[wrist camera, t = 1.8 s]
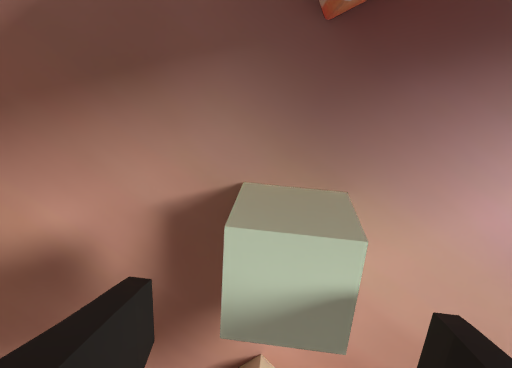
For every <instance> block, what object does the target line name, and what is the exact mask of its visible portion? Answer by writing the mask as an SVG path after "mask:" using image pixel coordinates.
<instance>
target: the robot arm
mask: <svg viewBox="0 0 512 368" xmlns="http://www.w3.org/2000/svg"><path fill="white" fill-rule="evenodd" d="M153 343H154V321H153V298H152V279H145V278H136V277H128V278H126V279H125V280H123V281H122V282H120V283H119V284H117V285H116V286H114V287H112V288H111V289H110V290H108V291H107V292H105V293H104V294H102V295H101V296H99V297H98V298H96V299H95V300H93V301H92V302H90V303H89V304H87V305H86V306H84V307H83V308H81V309H80V310H78V311H77V312H75V313H74V314H72V315H70V316H69V317H67V318H66V319H64V320H63V321H61V322H60V323H58V324H57V325H55V326H54V327H52V328H50V329H49V330H47V331H45V332H44V333H42V334H40V335H39V336H37V337H35V338H34V339H32V340H30V341H29V342H27V343H26V344H24V345H22V346H21V347H19V348H17V349H16V350H14V351H12V352H11V353H9V354H7V355H6V356H4V357H2V358H0V368H144V367H145V365H146V362H147V359H148V357H149V354H150V351H151V349H152V346H153ZM417 368H512V358H511V357H509V356H508V355H507V354H506V353H505V352H503V351H502V350H501V349H500V348H499V347H498V346H496V345H495V344H494V343H493V342H492V341H490V340H489V339H488V338H487V337H485V336H484V335H483V334H482V333H481V332H479V331H478V330H477V329H476V328H474V327H473V326H472V325H471V324H469V323H468V322H467V321H466V320H464V319H463V318H462V317H460V316H459V315H450V314H442V313H433V315H432V319H431V322H430V326H429V329H428V332H427V336H426V339H425V343H424V346H423V349H422V353H421V356H420V359H419V363H418V366H417Z"/></svg>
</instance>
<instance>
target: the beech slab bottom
mask: <svg viewBox="0 0 512 368" xmlns="http://www.w3.org/2000/svg"><path fill="white" fill-rule="evenodd" d="M239 368H275V367H274V366H273V365H272V364H271V363H270V362H269V361H268V360H267V359H266V358H265V357H264V356H263V355H259V356H257V357H256V358H254V359H252V360H251V361H249V362H247V363H246V364H244V365H242V366H241V367H239Z"/></svg>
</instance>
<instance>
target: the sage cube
mask: <svg viewBox="0 0 512 368" xmlns="http://www.w3.org/2000/svg"><path fill="white" fill-rule="evenodd" d="M367 246H368V240H367V238H366V235H365V233H364V231H363V228H362V226H361V224H360V221H359V219H358V217H357V214H356V212H355V209H354V207H353V205H352V202H351V200H350V198H349V195H348V193H347V192H339V191H328V190H318V189H308V188H298V187H288V186H278V185H268V184H258V183H247V182H243V184H242V187H241V189H240V191H239V194H238V196H237V198H236V201H235V203H234V206H233V208H232V210H231V213H230V215H229V217H228V220H227V222H226V224H225V229H224V253H223V277H222V300H221V324H220V338H222V339H229V340H237V341H244V342H252V343H259V344H267V345H274V346H282V347H289V348H297V349H304V350H312V351H319V352H327V353H334V354H342V355H346V351H347V346H348V341H349V336H350V331H351V326H352V321H353V316H354V311H355V306H356V301H357V296H358V291H359V286H360V281H361V276H362V271H363V266H364V261H365V256H366V251H367Z"/></svg>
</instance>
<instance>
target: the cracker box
mask: <svg viewBox="0 0 512 368" xmlns="http://www.w3.org/2000/svg"><path fill="white" fill-rule="evenodd" d="M365 1H367V0H319V2H320V5H321V8H322V11H323V14H324V17H325V18H326V19H327V20H330V19H332V18H334V17H336V16H338V15H340V14H342V13H344V12H346V11H347V10H349V9H351V8H353V7H355V6H357V5H359V4H361V3H363V2H365Z"/></svg>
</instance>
